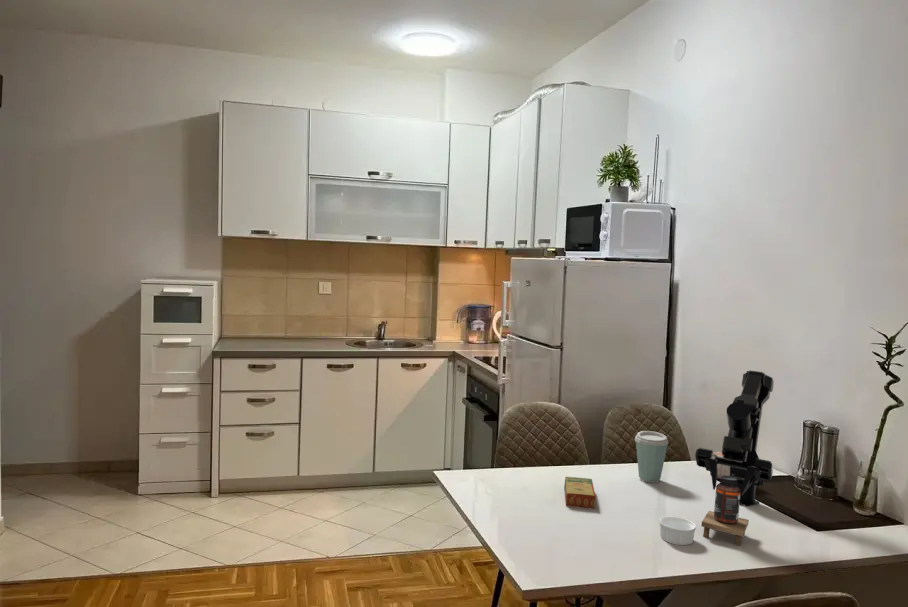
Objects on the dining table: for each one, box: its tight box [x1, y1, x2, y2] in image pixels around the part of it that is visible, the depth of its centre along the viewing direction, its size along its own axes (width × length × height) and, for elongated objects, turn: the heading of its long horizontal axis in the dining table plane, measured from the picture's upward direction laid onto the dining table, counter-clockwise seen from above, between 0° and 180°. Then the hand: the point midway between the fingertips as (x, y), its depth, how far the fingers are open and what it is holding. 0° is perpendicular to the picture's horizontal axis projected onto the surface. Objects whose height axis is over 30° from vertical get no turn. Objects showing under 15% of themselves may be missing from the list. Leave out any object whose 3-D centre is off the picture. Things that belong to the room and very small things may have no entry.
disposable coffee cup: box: [634, 430, 669, 484], centre depth 221 cm, size 11×11×15 cm
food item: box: [709, 451, 730, 480], centre depth 226 cm, size 14×8×10 cm, turn 19°
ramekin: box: [659, 516, 697, 546], centre depth 174 cm, size 9×9×4 cm
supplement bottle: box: [713, 476, 741, 524], centre depth 178 cm, size 6×6×11 cm
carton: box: [563, 476, 597, 510], centre depth 200 cm, size 8×16×4 cm, turn 172°
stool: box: [701, 510, 749, 546], centre depth 178 cm, size 10×10×4 cm
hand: (727, 491), depth 176 cm, fingers open, 6 cm apart
